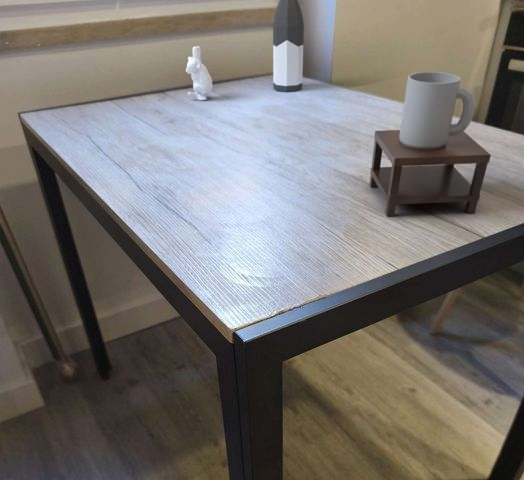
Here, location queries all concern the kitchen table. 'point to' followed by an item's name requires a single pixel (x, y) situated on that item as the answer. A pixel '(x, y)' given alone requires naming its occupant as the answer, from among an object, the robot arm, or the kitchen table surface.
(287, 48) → the wine bottle
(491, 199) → the kitchen table surface
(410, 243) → the kitchen table surface
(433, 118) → the cup
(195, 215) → the kitchen table surface
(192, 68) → the white upright figurine
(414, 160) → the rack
